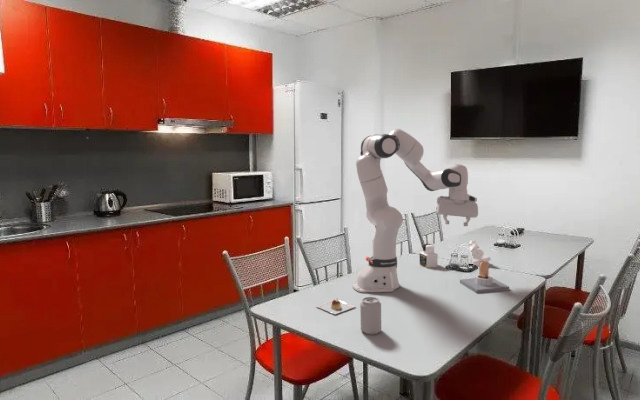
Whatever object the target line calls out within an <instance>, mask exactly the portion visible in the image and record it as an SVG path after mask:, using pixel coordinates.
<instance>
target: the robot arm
mask: <svg viewBox="0 0 640 400" xmlns="http://www.w3.org/2000/svg"><path fill="white" fill-rule="evenodd" d="M394 155H397V156H398V157H399V158H400V159H401V160H402V161H403V162H404V165H405V166H406V167H407V168H408V170H409V171H410V172H412V173H413V174H414V175H415V176H416V177H417V178H418V179H419V180H420V182H421V183H422V185H423V187H424V188H425V189H426V190H427V191H429V192H435V191H438V190H445V189H448V196H446V195H445V196H444V195H440V196H438V197H437V199H436V208H435V209H436V214H437V215H442V217H443V220H444V225H450V220H448V216H450V217H462V218H465V220H466V221H465V222H464V221H463V227H468V226H469V222H470V221H471V219H475V218H478V216H479V206H478V203H477V202H478V201H477V200H478V198H477V197H475V196H473V195H470V194H468V188H467V187H468V184H469V183H468V182H469V181H468V180H469V173H468V168H467V167H466V166H465V165H463V164H458V163H457V164H456V163H454V164H452V165H451V166H449V167H447V168H443V169H442V168H441V169H438V170H429V169H428V168H426V166H425V165H424V163H422V162H421V160H422V158H423V156H424V146H423V145H422V144H421V143H420V141H418V140H417V139H416V138H415V137H413V136H412V135H411V134H409V133H408V132H406V131H404V130H403V129H401V128H395V129H392V130H391V131H389V133H388V134H387V133H383V134H381V133H380V134H379V133H376V134H372V135H369V136H366V137H364V138H363V139H362V142H361V143H360V156H359V157H358V158H357V160H356V162H355V166H356V173H357V177H358V181H359V183H360V187H361V190H362V192H363V193H362V194H363V196H364V200H365V207H366V208H365V209H366V211H365V213H366V214H365V215H366V218H367V220H368V221H369V223H370V224H372V225H373V226H375V235H374V238H373V239H372V247H371V249H372V254H371V255H372V256H371V257H369V256H366V257H365V260H366V262H368V264H367V265H366V266H365V267H363V269H361V270H359V272H358V273H357V276H356V281H355V280H354V281H353V282H352V283H351V284H352V286H351V287H352V288H353V289H354V290H355V291H356V292H358V293H391V292H392V293H393V292H394V291H395V290H396V289H398V288H399V287H400V286H401V285H400V282H399V278H398V271H397V268H398V257H397V239H398V238H397V237H398V233H399V229H400V228H401V227H402V225H403V221H404V218H403V214H402V213H401V212H400V211H399V210H398V208H395V207H393V206H390V205H389V203H388V202H389V201H388V187H387V184H386V181H385V177H384V174H383V172H382V168H381V159H388V158H391V157H392V156H394Z"/></svg>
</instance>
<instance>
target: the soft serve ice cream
mask: <svg viewBox="0 0 640 400" xmlns="http://www.w3.org/2000/svg"><path fill="white" fill-rule="evenodd" d="M467 246H468V247H469V248H470V250H471V252H472V256H473V263H474V265H476V266H475V267H478V268H479V262H480V261H487V262H490V261H491V260H492V259H491V256H490V255H487V254H485V253H484V251H483V250H482V249H481V247H480V246H479V245H478V244H477V241H476V240H474V239H470V241H469V243H468V244H467ZM474 265H473V266H474Z"/></svg>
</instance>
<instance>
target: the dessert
mask: <svg viewBox="0 0 640 400" xmlns="http://www.w3.org/2000/svg"><path fill="white" fill-rule="evenodd" d="M331 303H332V304H331ZM328 304H329V305H330V309H331V310H334V309H336V310H337V309H338V310H340V309H342V305H344V306H347V307H349V308H347V309H344V310H342V311H339V312H335V313H334V312H331V311H329V310H327V309H324V308H323V307H325V305H326V306H328ZM341 304H342V305H341ZM315 307H316V308H319V309H320V310H323V311H325V312H328V313H330V314H332V315H334V316H335V315H339V314H340V313H344V312H346V311H348V310H351V309H355V308H356V307H357V306H356V305H354V304H351V303H349V302H346V301H344V300H341V299H339V298H337V297H335V299H333V300H330V301H327V302H324V303H321V304H319V305H317V306H316V305H315ZM338 310H337V311H338Z"/></svg>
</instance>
